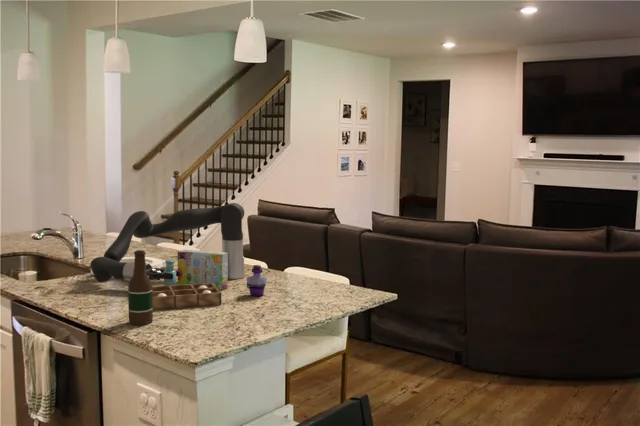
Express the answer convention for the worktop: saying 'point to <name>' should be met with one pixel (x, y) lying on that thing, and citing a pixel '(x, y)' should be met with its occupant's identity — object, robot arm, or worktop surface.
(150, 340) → the worktop surface
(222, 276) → the snack box
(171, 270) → the bud vase
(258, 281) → the potion bottle
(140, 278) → the beer bottle
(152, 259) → the white circle with bar
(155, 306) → the crate
